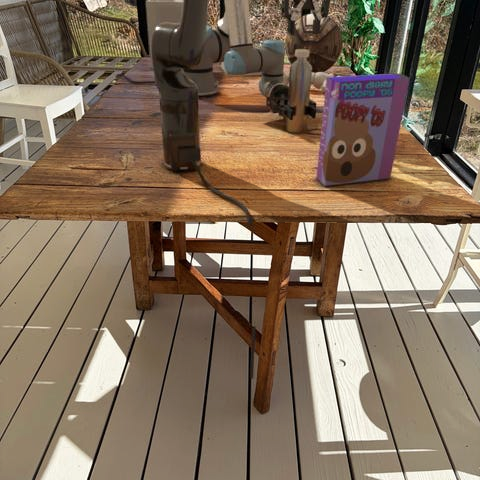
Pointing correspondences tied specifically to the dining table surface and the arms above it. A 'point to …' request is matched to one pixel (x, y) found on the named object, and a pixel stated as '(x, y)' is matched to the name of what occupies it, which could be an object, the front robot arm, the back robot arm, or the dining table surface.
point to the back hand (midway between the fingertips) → (303, 114)
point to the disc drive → (239, 75)
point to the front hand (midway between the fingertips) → (303, 34)
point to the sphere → (315, 42)
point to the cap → (302, 53)
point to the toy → (314, 79)
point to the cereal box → (360, 127)
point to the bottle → (299, 95)
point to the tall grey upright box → (162, 15)
